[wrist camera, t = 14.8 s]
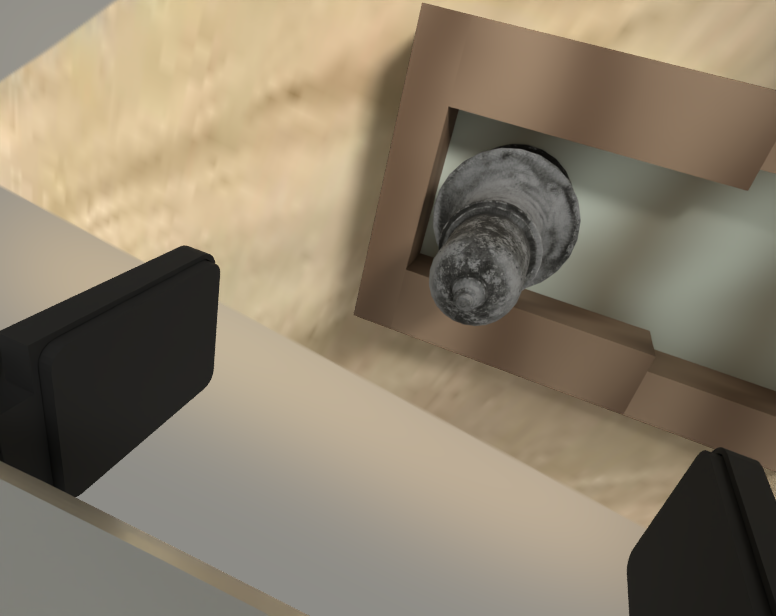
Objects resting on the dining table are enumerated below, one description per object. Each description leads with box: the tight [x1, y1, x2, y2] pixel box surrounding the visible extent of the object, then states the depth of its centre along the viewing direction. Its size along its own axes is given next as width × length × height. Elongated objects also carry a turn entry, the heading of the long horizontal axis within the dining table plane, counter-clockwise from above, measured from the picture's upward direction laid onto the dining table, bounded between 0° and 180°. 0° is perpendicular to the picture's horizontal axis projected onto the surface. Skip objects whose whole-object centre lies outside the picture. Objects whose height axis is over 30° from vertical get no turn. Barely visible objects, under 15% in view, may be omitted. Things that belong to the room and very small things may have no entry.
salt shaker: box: [429, 144, 581, 326], centre depth 20 cm, size 6×6×12 cm
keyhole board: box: [354, 3, 776, 472], centre depth 23 cm, size 24×14×4 cm, turn 77°
